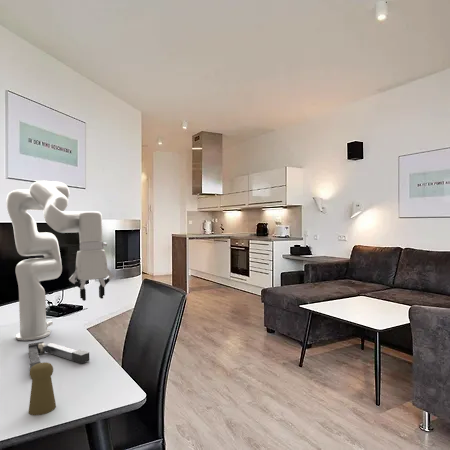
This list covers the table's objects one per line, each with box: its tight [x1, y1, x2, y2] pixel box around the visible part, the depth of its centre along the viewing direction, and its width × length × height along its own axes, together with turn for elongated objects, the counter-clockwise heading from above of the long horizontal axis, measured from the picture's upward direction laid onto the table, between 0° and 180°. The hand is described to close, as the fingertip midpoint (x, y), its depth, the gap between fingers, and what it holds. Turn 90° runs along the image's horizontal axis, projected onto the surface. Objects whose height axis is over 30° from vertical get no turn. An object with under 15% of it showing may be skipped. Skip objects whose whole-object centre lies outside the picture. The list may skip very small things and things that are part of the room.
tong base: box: [27, 341, 45, 370], centre depth 120 cm, size 26×5×3 cm, turn 31°
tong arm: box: [38, 342, 90, 365], centre depth 124 cm, size 22×5×3 cm, turn 56°
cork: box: [28, 361, 57, 416], centre depth 89 cm, size 6×6×11 cm
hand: (92, 298), depth 126 cm, fingers open, 5 cm apart
